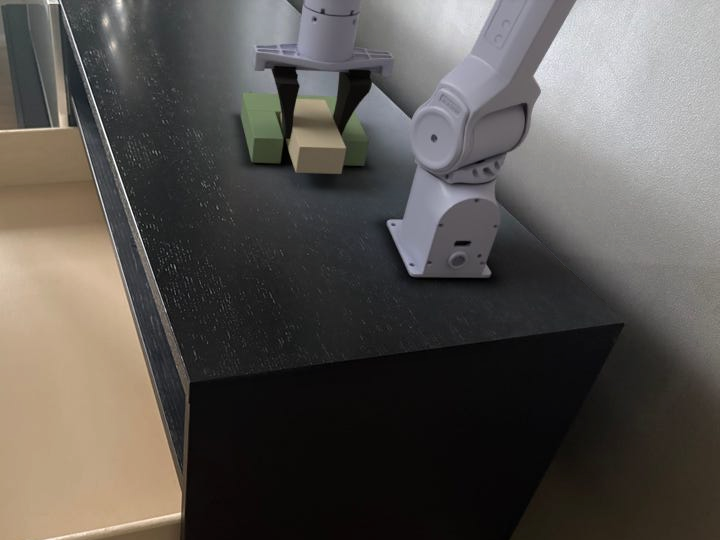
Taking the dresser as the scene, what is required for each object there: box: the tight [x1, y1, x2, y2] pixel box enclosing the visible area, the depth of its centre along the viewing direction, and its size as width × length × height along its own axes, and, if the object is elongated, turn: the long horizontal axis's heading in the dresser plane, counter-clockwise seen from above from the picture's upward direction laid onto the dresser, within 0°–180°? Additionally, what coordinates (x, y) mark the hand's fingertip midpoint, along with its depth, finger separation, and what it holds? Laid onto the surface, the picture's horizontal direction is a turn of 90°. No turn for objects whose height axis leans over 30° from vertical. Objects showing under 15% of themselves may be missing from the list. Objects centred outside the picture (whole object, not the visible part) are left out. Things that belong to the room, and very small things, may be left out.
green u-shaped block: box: [240, 92, 370, 167], centre depth 89 cm, size 12×13×3 cm
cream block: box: [280, 99, 346, 175], centre depth 84 cm, size 12×5×3 cm, turn 6°
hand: (311, 135), depth 84 cm, fingers closed on cream block, 5 cm apart
